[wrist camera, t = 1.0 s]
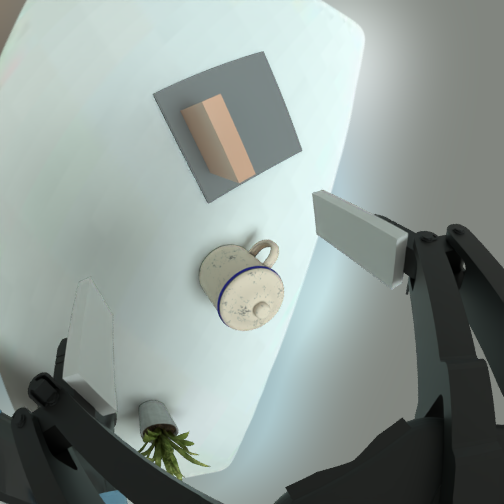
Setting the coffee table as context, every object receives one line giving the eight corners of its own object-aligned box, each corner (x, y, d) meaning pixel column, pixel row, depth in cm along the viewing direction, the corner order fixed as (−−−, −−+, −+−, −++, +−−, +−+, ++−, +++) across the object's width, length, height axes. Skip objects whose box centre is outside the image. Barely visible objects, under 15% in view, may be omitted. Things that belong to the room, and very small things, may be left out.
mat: (207, 202, 37) (208, 203, 37) (153, 94, 29) (153, 93, 28) (300, 150, 41) (302, 150, 40) (262, 52, 32) (263, 51, 32)
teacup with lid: (230, 306, 45) (266, 351, 36) (184, 283, 40) (212, 331, 30) (275, 245, 45) (322, 277, 35) (233, 213, 40) (277, 241, 30)
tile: (210, 172, 35) (239, 183, 28) (180, 110, 31) (201, 101, 23) (224, 165, 36) (256, 173, 29) (195, 103, 31) (221, 93, 24)
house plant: (94, 405, 40) (107, 482, 27) (148, 371, 43) (175, 451, 29) (143, 434, 48) (166, 499, 34) (193, 405, 50) (226, 470, 37)
